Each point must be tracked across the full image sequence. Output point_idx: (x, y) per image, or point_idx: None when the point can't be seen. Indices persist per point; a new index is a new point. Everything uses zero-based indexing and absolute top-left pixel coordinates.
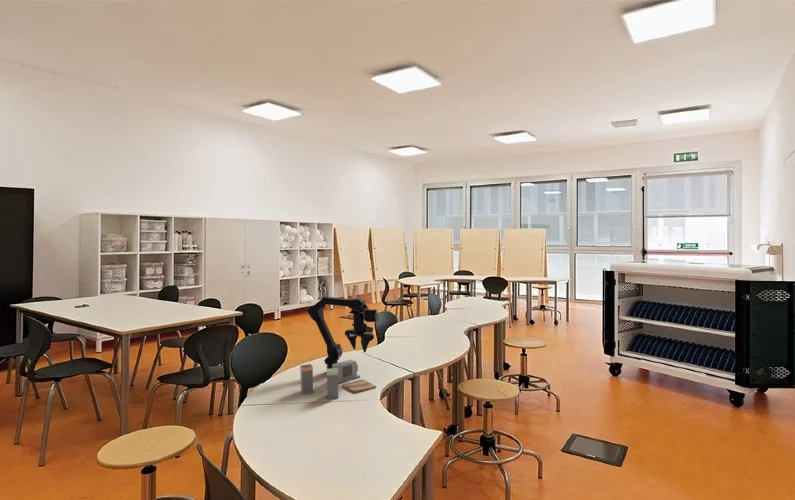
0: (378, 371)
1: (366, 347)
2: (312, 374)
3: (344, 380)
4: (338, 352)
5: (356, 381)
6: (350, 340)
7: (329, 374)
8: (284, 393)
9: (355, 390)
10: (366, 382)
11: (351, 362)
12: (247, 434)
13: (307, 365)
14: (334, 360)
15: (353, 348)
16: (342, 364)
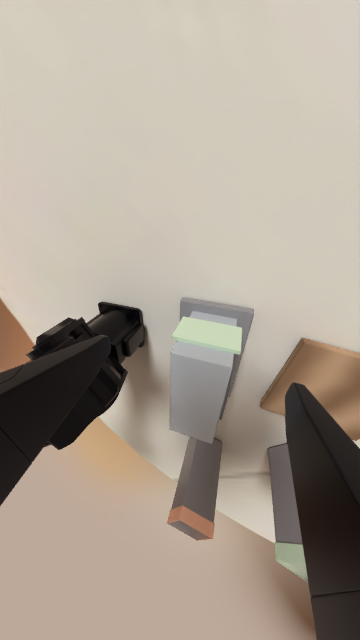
0: (280, 139)
1: (352, 459)
2: (215, 504)
3: (234, 377)
4: (102, 409)
5: (291, 371)
6: (31, 462)
7: None
8: (174, 449)
9: (353, 434)
10: (351, 365)
11: (220, 390)
12: (268, 536)
13: (183, 526)
14: (122, 384)
15: (105, 356)
16: (207, 423)
